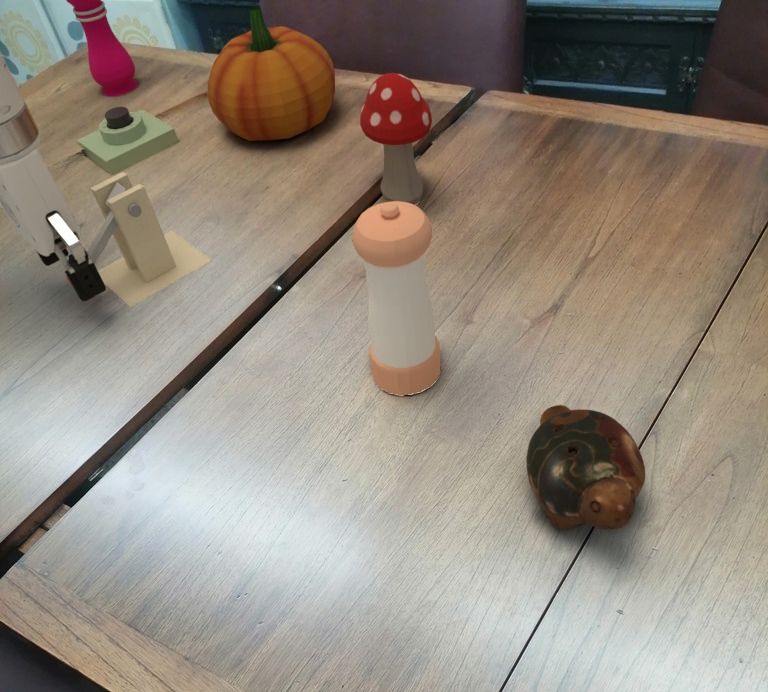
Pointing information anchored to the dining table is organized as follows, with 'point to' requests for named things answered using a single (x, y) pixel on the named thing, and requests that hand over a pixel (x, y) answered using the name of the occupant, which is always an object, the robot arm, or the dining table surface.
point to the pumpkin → (271, 82)
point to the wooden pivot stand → (142, 245)
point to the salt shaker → (398, 296)
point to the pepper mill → (104, 49)
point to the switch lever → (104, 229)
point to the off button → (118, 118)
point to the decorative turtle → (584, 469)
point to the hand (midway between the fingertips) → (75, 277)
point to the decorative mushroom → (397, 133)
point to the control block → (127, 142)
